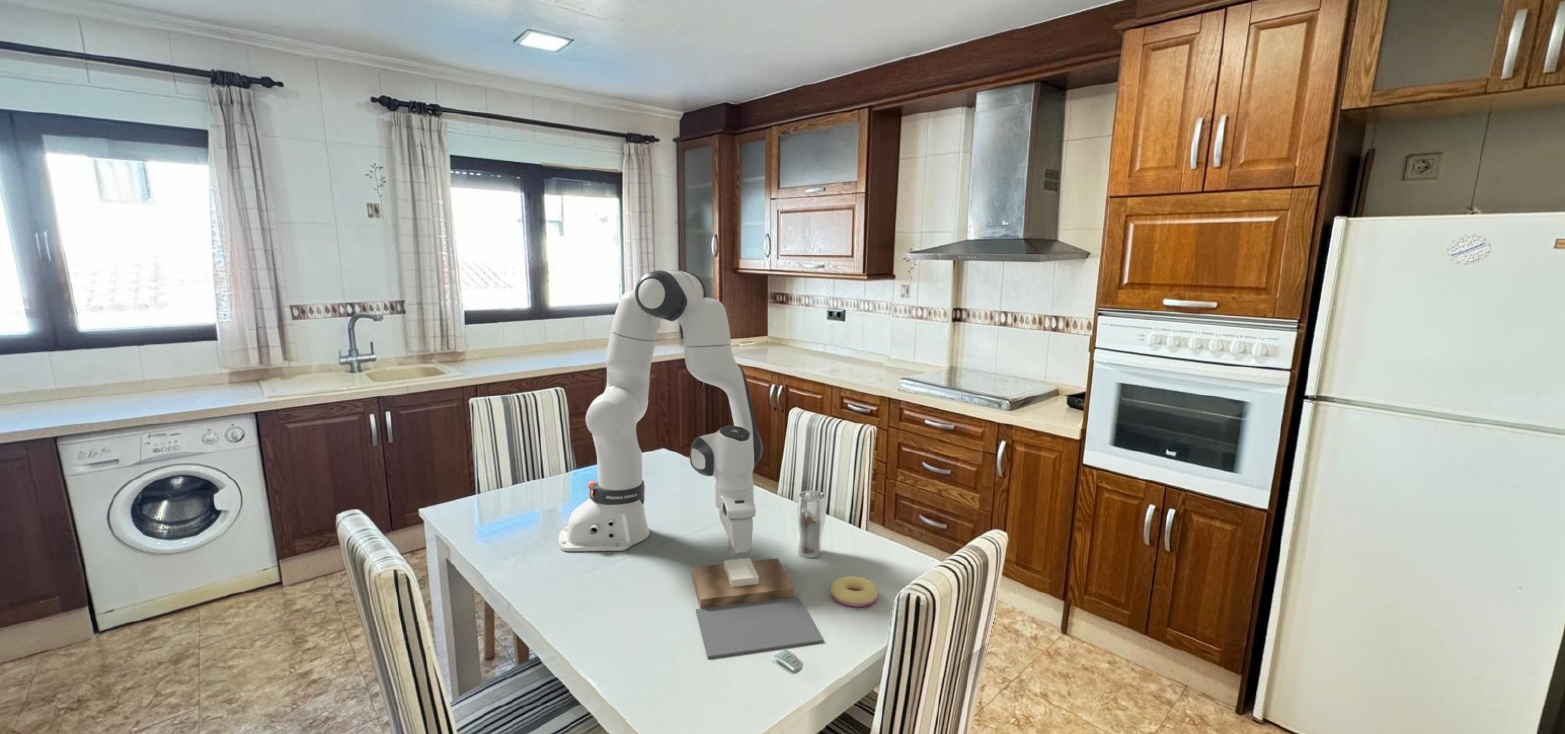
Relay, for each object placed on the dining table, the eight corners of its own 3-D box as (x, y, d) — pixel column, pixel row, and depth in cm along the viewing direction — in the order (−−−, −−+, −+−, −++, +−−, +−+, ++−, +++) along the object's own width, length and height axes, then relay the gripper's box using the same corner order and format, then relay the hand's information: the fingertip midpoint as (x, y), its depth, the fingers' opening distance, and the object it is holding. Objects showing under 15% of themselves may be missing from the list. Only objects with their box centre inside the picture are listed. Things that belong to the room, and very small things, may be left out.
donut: (834, 594, 142) (830, 611, 133) (832, 574, 142) (828, 589, 133) (879, 592, 140) (878, 609, 131) (877, 572, 140) (875, 587, 131)
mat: (707, 658, 114) (707, 656, 114) (695, 611, 129) (695, 608, 129) (822, 642, 120) (822, 639, 120) (798, 598, 135) (798, 596, 135)
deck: (700, 610, 130) (700, 599, 129) (692, 577, 143) (692, 567, 143) (794, 599, 135) (794, 588, 135) (777, 568, 148) (777, 558, 148)
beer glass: (791, 554, 155) (792, 496, 153) (803, 544, 161) (805, 488, 159) (816, 561, 152) (819, 502, 150) (828, 550, 158) (830, 493, 156)
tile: (731, 586, 134) (731, 580, 134) (723, 567, 143) (723, 560, 143) (758, 583, 136) (758, 576, 136) (749, 564, 145) (749, 557, 144)
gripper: (713, 482, 155) (713, 535, 157) (728, 515, 135) (728, 575, 137) (738, 480, 156) (738, 533, 159) (757, 512, 137) (756, 572, 139)
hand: (733, 553), depth 148 cm, fingers closed
